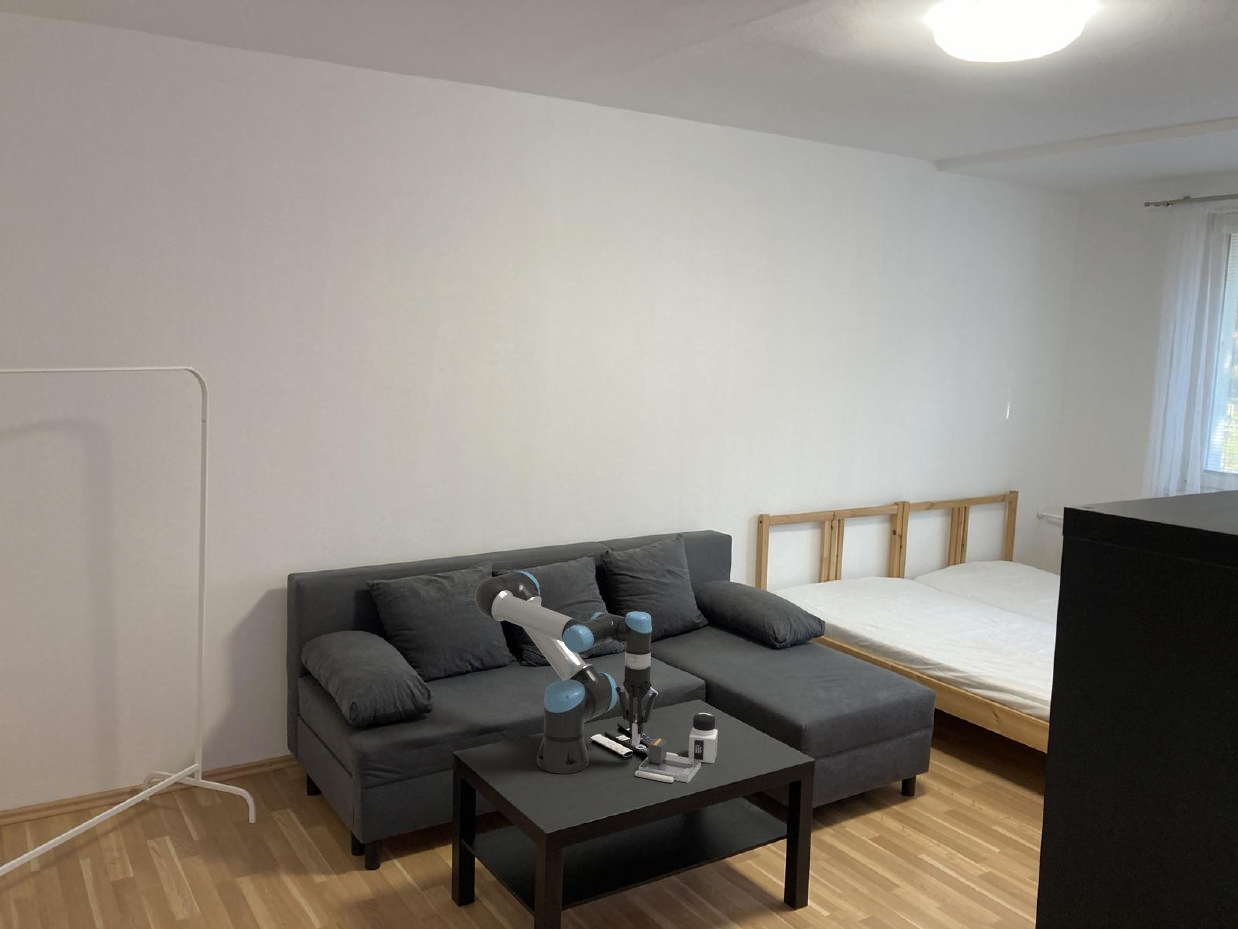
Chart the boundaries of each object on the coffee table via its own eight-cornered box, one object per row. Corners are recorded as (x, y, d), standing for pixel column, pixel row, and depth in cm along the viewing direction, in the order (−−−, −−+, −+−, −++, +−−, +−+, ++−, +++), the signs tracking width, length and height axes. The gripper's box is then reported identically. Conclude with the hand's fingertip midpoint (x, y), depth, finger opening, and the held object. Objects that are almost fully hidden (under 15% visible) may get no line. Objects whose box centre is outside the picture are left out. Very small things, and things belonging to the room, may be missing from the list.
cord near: (634, 776, 284) (634, 771, 284) (636, 774, 285) (636, 769, 285) (672, 784, 280) (672, 778, 279) (674, 782, 281) (674, 776, 281)
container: (714, 763, 294) (715, 721, 293) (688, 761, 296) (689, 718, 294) (716, 753, 302) (718, 712, 300) (691, 751, 303) (693, 709, 302)
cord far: (640, 754, 300) (640, 748, 300) (642, 752, 301) (642, 747, 301) (677, 760, 296) (677, 755, 296) (678, 758, 297) (678, 753, 297)
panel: (638, 773, 286) (638, 765, 286) (652, 758, 297) (652, 750, 297) (688, 782, 281) (688, 775, 281) (700, 766, 292) (701, 759, 292)
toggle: (647, 761, 289) (648, 743, 288) (653, 754, 293) (654, 737, 293) (660, 763, 287) (661, 746, 287) (666, 757, 292) (667, 740, 291)
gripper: (612, 666, 289) (610, 745, 291) (654, 672, 284) (652, 752, 286) (621, 659, 296) (619, 736, 298) (663, 665, 291) (661, 743, 293)
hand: (635, 743), depth 292 cm, fingers closed
